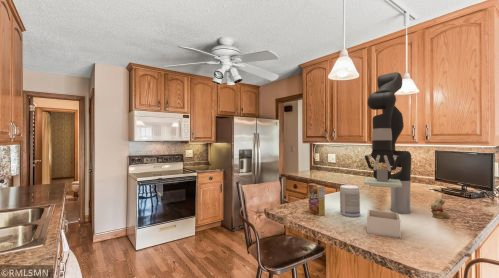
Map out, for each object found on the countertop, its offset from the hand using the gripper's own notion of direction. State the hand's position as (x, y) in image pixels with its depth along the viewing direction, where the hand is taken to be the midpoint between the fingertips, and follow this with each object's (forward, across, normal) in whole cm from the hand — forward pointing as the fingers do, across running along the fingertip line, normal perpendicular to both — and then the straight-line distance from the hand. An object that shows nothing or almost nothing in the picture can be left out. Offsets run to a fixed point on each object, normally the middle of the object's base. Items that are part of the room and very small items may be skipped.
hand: (382, 179), depth 106 cm
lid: (+2, 0, 0) cm, 2 cm away
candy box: (+22, +31, -13) cm, 40 cm away
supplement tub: (+22, +15, -19) cm, 33 cm away
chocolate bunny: (+23, -26, -35) cm, 49 cm away
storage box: (+22, 0, 0) cm, 22 cm away
